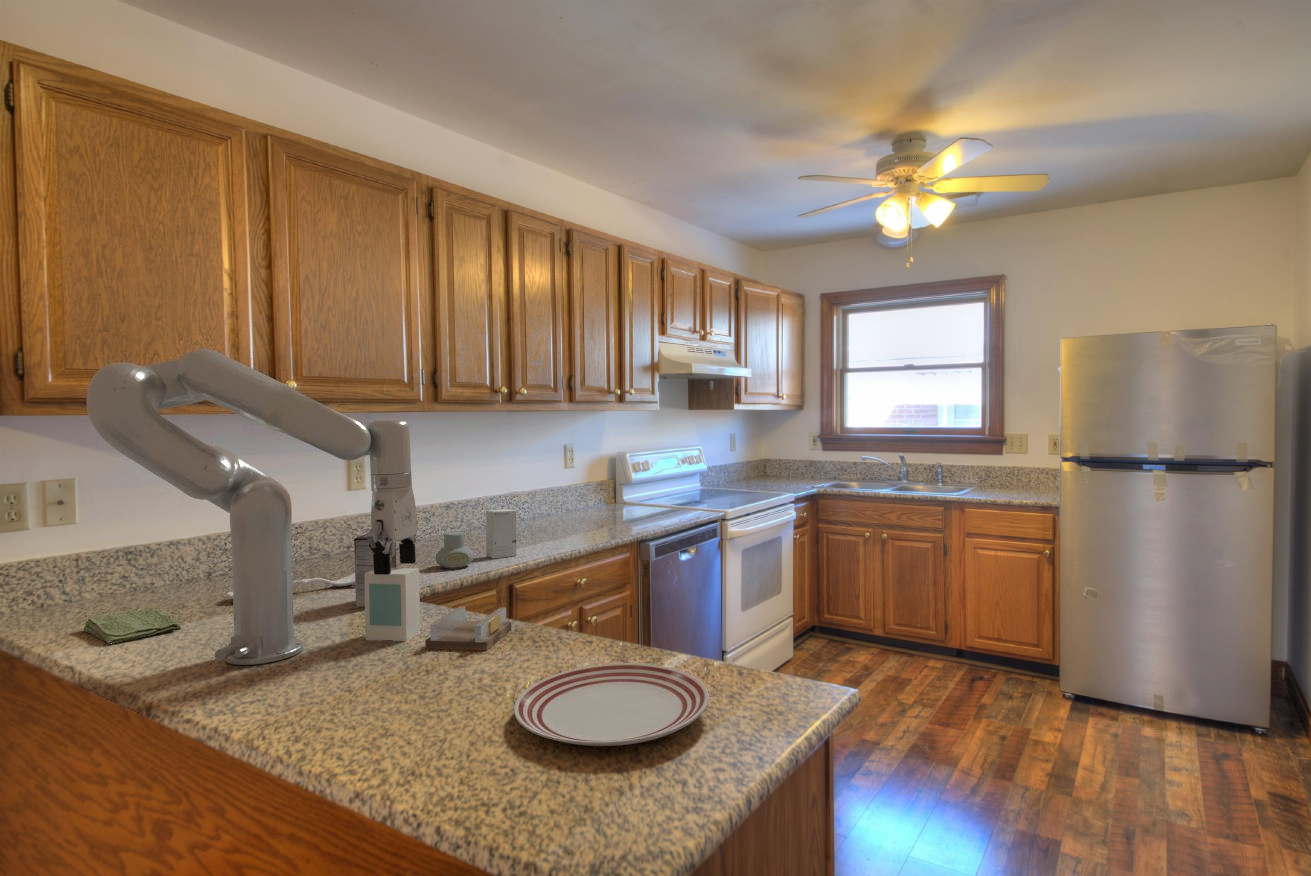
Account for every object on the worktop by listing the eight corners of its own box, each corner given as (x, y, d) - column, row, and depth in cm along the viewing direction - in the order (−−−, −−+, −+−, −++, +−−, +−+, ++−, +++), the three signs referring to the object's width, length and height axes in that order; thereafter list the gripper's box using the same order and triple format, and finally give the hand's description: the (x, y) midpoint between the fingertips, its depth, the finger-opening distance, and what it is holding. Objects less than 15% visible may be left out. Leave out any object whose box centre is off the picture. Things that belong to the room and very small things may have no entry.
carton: (406, 641, 134) (404, 574, 134) (365, 640, 135) (363, 573, 135) (420, 632, 140) (419, 568, 139) (380, 631, 141) (379, 567, 141)
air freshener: (436, 571, 199) (435, 536, 199) (434, 565, 207) (434, 532, 207) (475, 567, 203) (474, 533, 203) (472, 562, 211) (471, 530, 211)
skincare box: (492, 559, 216) (492, 511, 216) (485, 556, 221) (484, 509, 221) (517, 556, 221) (517, 509, 221) (510, 553, 226) (509, 507, 226)
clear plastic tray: (482, 642, 128) (482, 626, 128) (430, 640, 129) (430, 624, 129) (507, 622, 141) (507, 607, 141) (460, 620, 142) (459, 606, 142)
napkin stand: (486, 650, 128) (486, 642, 128) (425, 648, 130) (425, 640, 130) (511, 629, 141) (511, 622, 141) (455, 627, 142) (455, 620, 142)
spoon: (371, 587, 181) (371, 573, 181) (229, 607, 162) (228, 593, 162) (362, 581, 189) (362, 568, 189) (224, 600, 169) (224, 586, 169)
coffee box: (371, 597, 169) (370, 531, 169) (397, 596, 169) (396, 531, 169) (354, 606, 160) (353, 537, 160) (382, 606, 160) (380, 537, 160)
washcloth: (107, 649, 133) (107, 632, 133) (80, 633, 144) (80, 617, 143) (185, 632, 143) (185, 616, 143) (155, 618, 154) (155, 604, 154)
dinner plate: (541, 784, 80) (541, 755, 80) (497, 699, 106) (496, 677, 106) (746, 738, 91) (746, 713, 91) (661, 671, 117) (661, 652, 116)
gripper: (386, 486, 128) (390, 578, 128) (429, 478, 145) (433, 559, 146) (348, 487, 129) (353, 578, 130) (396, 478, 146) (400, 559, 147)
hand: (395, 568), depth 138 cm, fingers open, 9 cm apart
